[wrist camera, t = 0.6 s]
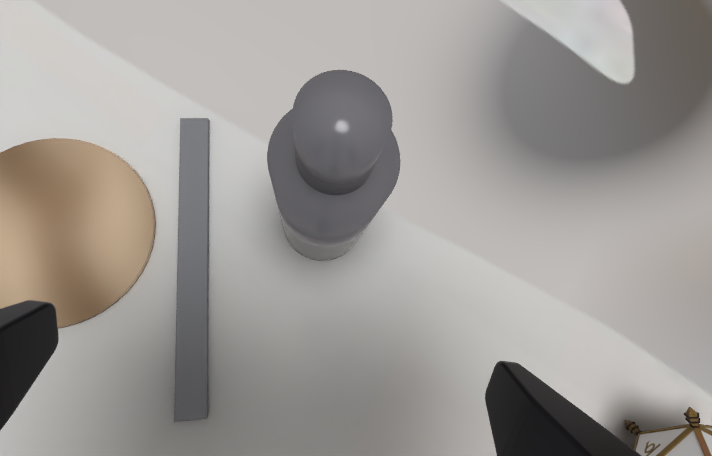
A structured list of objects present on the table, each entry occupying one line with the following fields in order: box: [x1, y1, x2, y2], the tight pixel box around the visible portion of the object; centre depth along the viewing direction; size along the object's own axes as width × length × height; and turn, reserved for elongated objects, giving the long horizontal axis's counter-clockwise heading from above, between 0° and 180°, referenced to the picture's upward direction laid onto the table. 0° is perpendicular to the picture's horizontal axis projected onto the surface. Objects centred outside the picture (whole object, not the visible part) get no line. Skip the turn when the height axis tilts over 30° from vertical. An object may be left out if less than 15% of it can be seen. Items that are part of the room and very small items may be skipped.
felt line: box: [174, 118, 209, 422], centre depth 22 cm, size 16×2×1 cm, turn 4°
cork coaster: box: [0, 138, 155, 328], centre depth 21 cm, size 10×10×1 cm
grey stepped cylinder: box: [267, 70, 400, 261], centre depth 17 cm, size 4×4×13 cm
